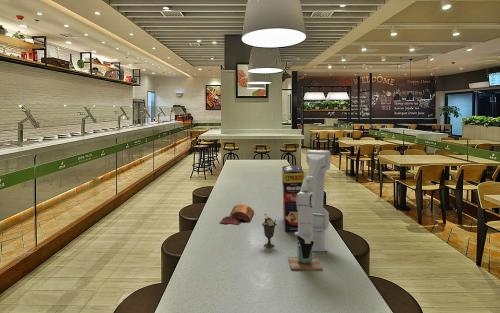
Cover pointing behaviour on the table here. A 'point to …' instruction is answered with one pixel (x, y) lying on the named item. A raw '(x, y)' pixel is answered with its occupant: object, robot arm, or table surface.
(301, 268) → the stand
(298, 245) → the teal block
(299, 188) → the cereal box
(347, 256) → the table surface
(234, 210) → the cured meat
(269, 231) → the sundae
